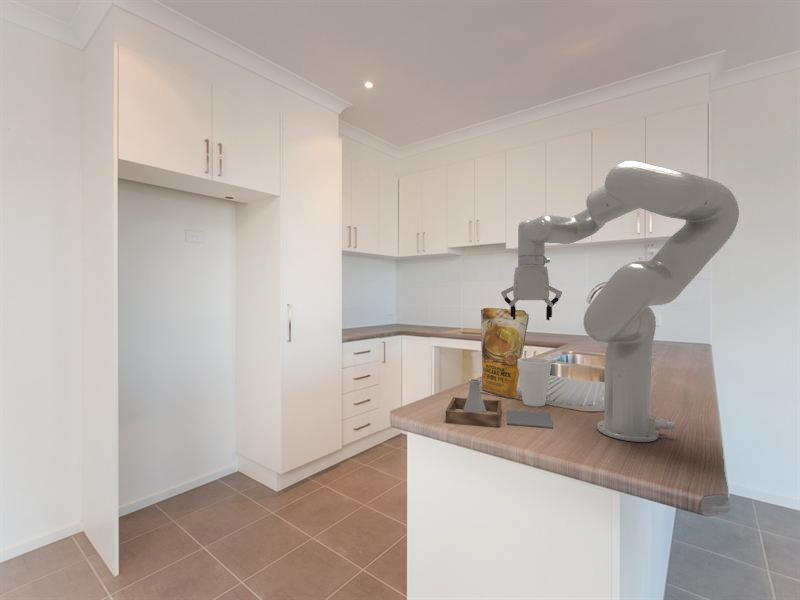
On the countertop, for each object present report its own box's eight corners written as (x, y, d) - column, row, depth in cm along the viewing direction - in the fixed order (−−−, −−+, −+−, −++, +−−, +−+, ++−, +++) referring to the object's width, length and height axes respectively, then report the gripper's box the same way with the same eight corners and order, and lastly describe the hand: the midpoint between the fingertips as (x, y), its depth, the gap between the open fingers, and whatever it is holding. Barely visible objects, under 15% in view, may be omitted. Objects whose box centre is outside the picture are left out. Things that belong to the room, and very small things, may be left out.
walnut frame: (501, 410, 111) (501, 400, 111) (499, 427, 98) (499, 415, 98) (453, 407, 115) (453, 397, 115) (445, 422, 102) (445, 410, 102)
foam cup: (515, 398, 123) (515, 357, 123) (546, 399, 122) (546, 357, 122) (520, 407, 114) (520, 362, 114) (553, 408, 113) (554, 363, 112)
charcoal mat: (549, 414, 107) (549, 413, 107) (553, 428, 97) (553, 427, 97) (507, 411, 110) (507, 410, 110) (506, 424, 100) (507, 423, 100)
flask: (486, 412, 110) (486, 377, 109) (490, 421, 102) (489, 383, 102) (460, 412, 110) (460, 376, 110) (462, 420, 103) (461, 383, 103)
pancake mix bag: (488, 385, 140) (487, 307, 140) (530, 397, 124) (530, 309, 123) (473, 388, 137) (473, 308, 136) (515, 401, 121) (515, 310, 120)
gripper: (560, 262, 118) (560, 319, 119) (501, 263, 123) (501, 318, 124) (563, 261, 111) (563, 321, 112) (500, 262, 116) (500, 320, 117)
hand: (530, 319), depth 118 cm, fingers open, 9 cm apart
